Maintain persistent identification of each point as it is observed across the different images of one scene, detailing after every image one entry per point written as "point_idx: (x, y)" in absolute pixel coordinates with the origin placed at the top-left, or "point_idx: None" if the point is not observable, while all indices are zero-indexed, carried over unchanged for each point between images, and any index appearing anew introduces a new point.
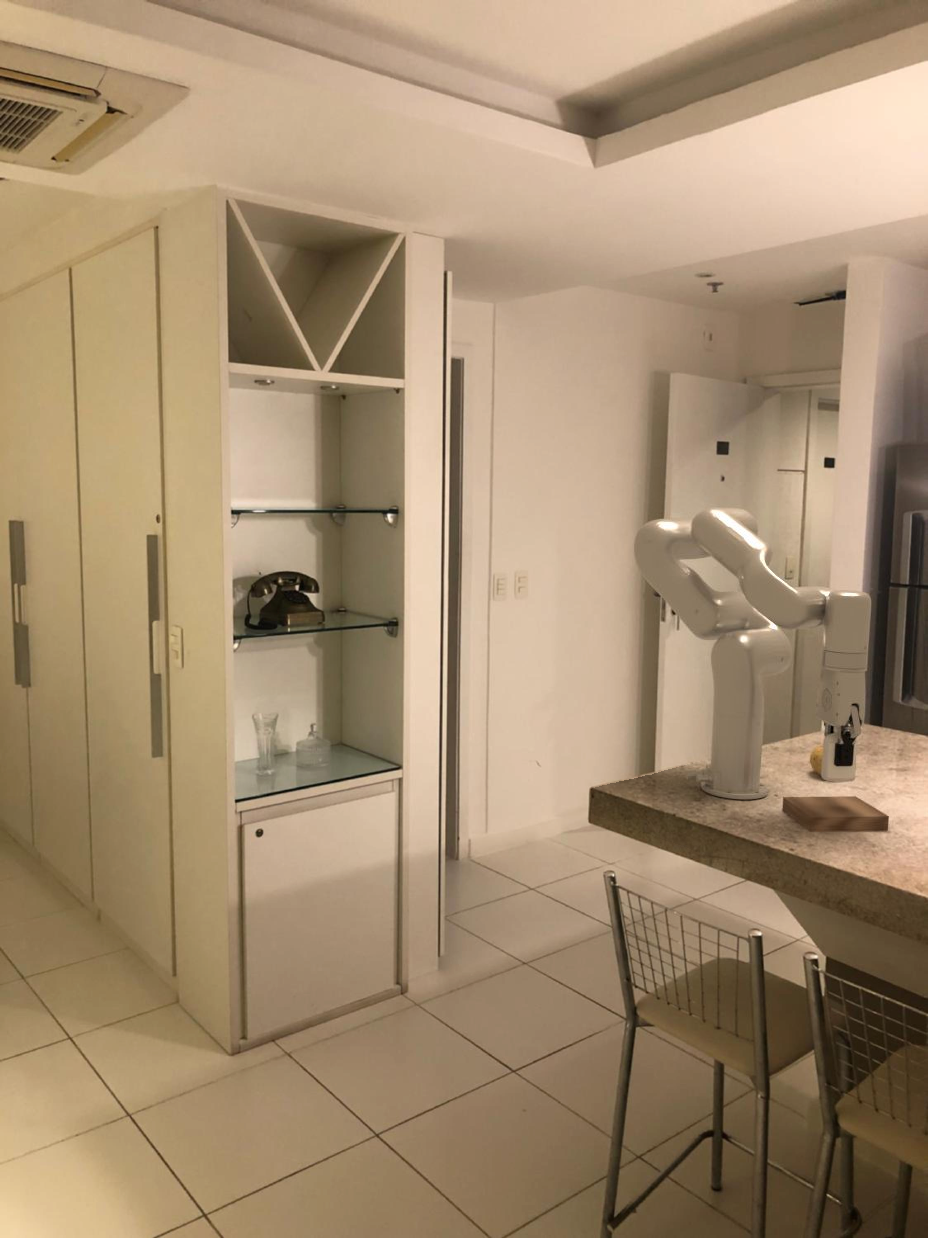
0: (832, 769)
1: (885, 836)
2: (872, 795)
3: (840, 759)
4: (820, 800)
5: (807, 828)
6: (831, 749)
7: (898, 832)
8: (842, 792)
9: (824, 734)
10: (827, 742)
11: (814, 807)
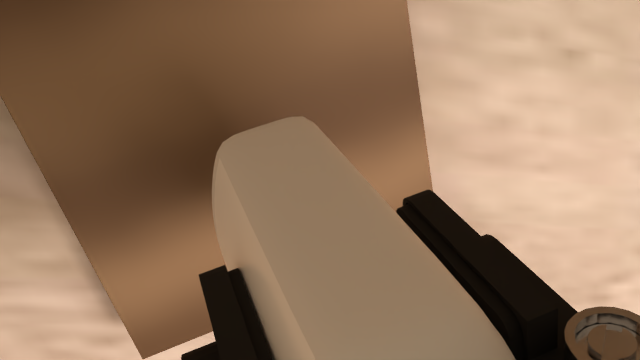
0: (230, 226)
1: (37, 306)
2: (584, 273)
3: (214, 347)
4: (346, 72)
5: None
6: (281, 330)
7: (126, 348)
8: (623, 179)
9: (634, 317)
10: (333, 341)
11: (190, 17)
